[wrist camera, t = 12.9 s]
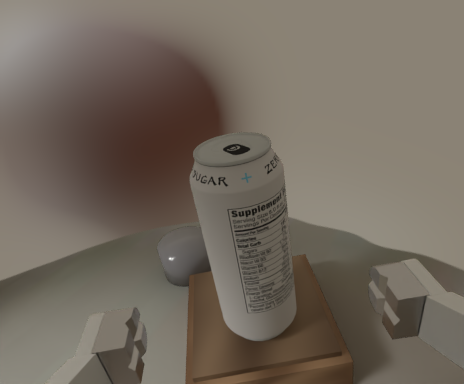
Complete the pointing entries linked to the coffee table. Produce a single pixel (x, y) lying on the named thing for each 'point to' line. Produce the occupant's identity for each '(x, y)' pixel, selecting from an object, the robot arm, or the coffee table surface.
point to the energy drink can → (246, 232)
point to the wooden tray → (269, 351)
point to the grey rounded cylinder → (183, 254)
